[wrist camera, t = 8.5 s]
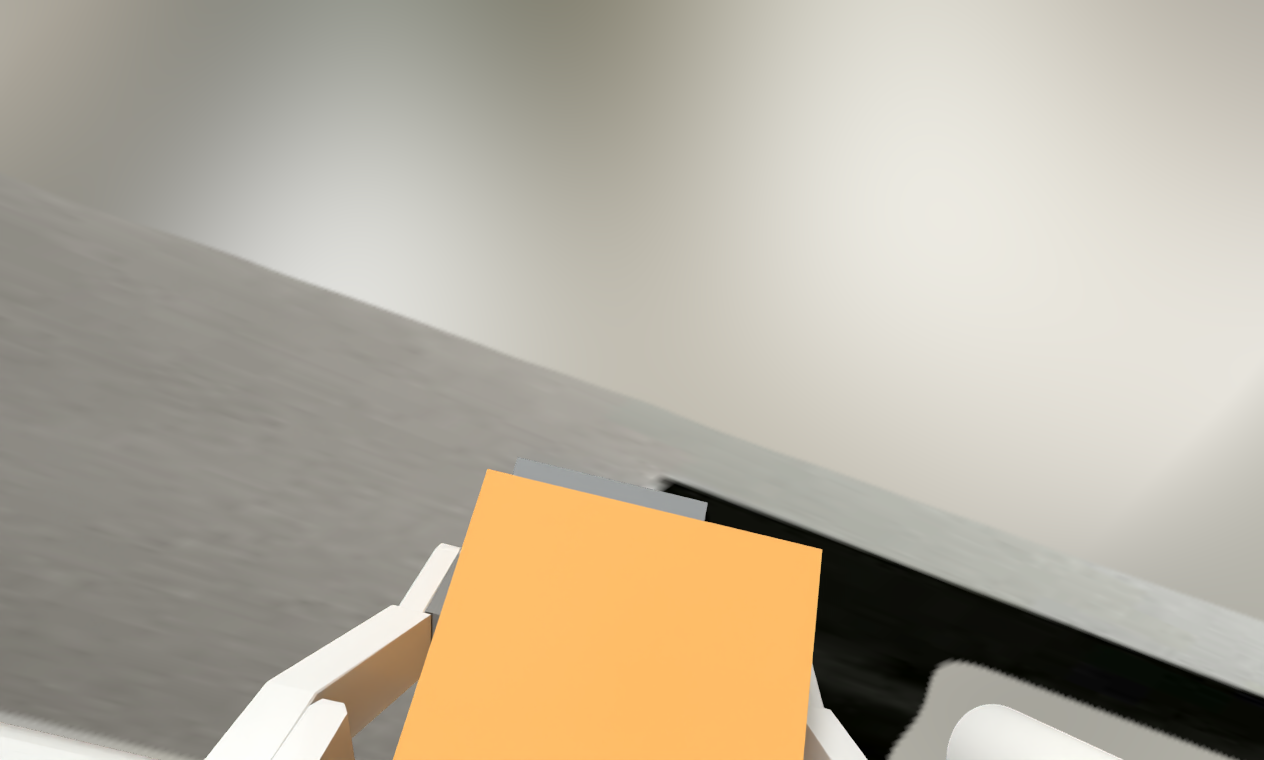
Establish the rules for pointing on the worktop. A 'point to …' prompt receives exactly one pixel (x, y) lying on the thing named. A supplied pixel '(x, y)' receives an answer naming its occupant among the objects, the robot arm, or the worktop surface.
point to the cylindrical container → (1014, 738)
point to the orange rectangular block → (615, 636)
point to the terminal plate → (610, 489)
